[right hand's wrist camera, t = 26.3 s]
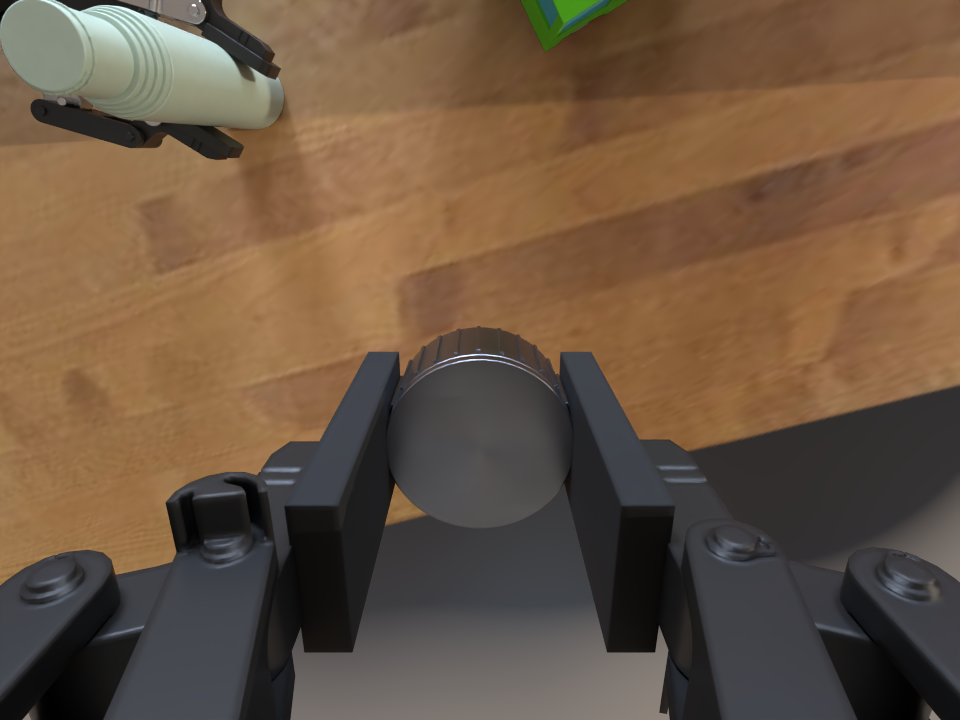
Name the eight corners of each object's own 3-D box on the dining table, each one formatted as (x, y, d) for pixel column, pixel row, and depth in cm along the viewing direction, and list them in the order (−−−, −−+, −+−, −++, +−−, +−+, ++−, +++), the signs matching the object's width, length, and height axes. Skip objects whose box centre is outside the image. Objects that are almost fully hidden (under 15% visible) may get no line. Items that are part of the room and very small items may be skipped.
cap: (594, 424, 15) (613, 471, 13) (458, 503, 16) (455, 560, 13) (504, 290, 13) (509, 318, 11) (362, 383, 14) (341, 425, 12)
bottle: (206, 99, 38) (-43, 55, 20) (240, 42, 37) (8, -59, 19) (262, 143, 39) (72, 140, 21) (296, 89, 38) (128, 36, 20)
